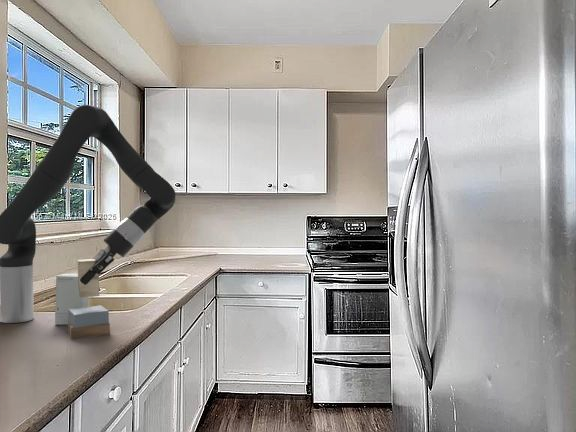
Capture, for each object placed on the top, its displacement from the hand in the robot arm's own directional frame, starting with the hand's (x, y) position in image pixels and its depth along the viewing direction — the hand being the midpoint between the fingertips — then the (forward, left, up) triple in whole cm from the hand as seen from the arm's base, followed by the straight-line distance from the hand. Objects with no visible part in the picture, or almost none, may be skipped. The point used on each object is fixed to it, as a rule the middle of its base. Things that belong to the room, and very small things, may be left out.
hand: (81, 281), depth 143 cm
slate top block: (0, +2, -12) cm, 12 cm away
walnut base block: (0, +2, -15) cm, 15 cm away
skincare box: (-15, -1, -15) cm, 21 cm away
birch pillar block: (0, +2, -4) cm, 5 cm away
